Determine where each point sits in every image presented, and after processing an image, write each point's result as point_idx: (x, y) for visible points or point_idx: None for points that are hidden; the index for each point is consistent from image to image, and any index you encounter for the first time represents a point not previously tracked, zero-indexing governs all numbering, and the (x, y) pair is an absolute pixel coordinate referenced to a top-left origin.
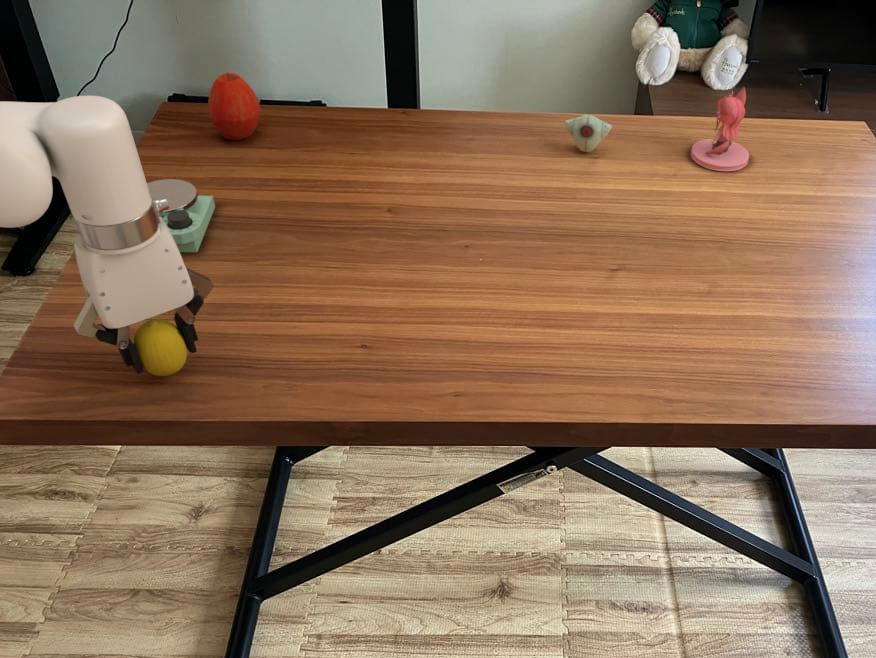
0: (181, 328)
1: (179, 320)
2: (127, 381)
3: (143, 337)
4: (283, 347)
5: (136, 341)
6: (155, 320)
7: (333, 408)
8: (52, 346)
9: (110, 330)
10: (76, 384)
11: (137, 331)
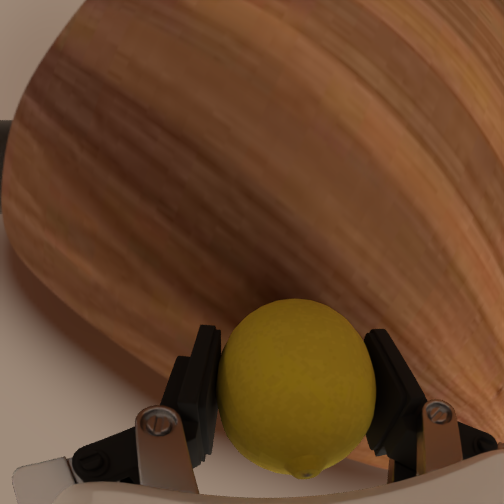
0: (375, 431)
1: (393, 430)
2: (192, 285)
3: (249, 459)
4: (468, 355)
5: (226, 430)
6: (327, 455)
7: None
8: (95, 45)
9: (138, 482)
10: (91, 220)
11: (245, 435)
